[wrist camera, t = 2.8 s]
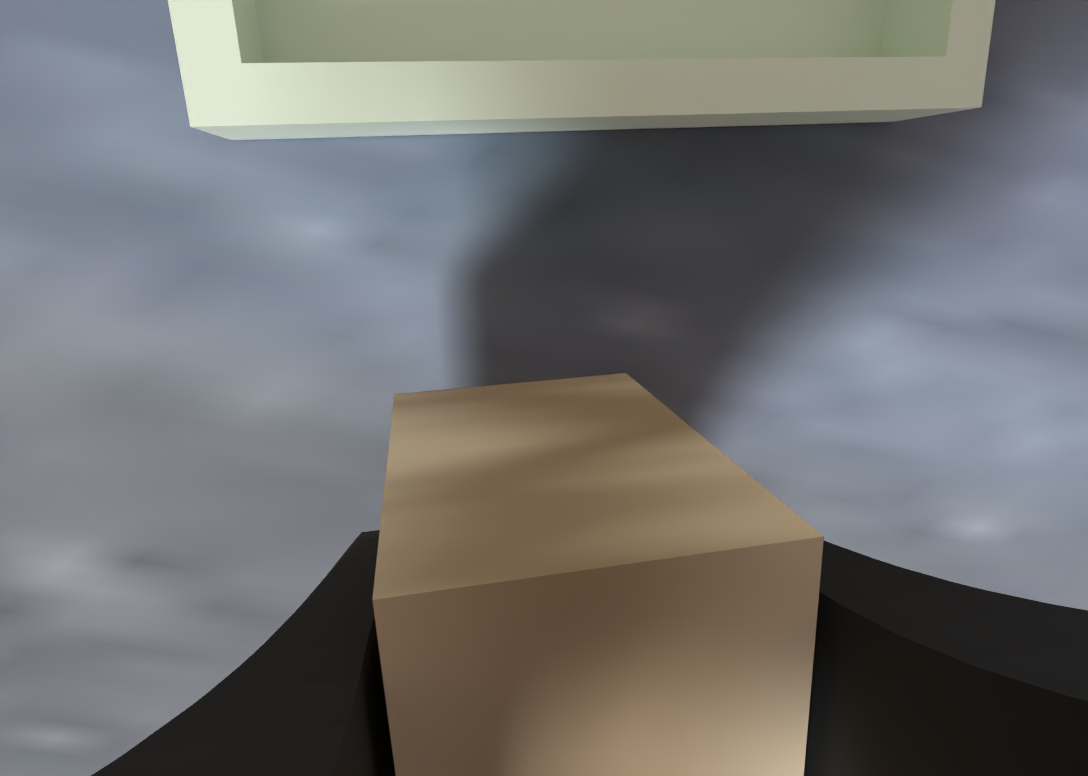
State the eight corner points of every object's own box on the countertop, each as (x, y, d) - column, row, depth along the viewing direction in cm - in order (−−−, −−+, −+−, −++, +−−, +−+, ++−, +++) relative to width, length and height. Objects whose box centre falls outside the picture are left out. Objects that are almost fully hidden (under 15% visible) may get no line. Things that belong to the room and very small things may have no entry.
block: (625, 373, 12) (823, 535, 6) (627, 617, 13) (789, 936, 7) (394, 394, 11) (372, 600, 5) (422, 649, 12) (428, 1026, 7)
